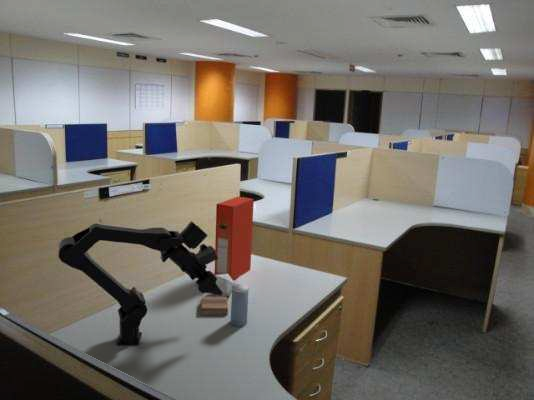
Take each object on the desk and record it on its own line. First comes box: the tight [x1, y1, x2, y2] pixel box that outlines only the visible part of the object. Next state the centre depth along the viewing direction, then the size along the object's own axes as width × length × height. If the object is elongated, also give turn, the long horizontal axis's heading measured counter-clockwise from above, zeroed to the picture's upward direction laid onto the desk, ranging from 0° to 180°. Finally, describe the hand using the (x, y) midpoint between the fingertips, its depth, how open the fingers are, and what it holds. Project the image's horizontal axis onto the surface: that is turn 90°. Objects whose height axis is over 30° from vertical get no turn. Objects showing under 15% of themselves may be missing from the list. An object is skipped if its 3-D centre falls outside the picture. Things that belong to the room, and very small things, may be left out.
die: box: [214, 274, 236, 298], centre depth 169 cm, size 8×9×10 cm
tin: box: [230, 282, 250, 328], centre depth 149 cm, size 6×6×13 cm
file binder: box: [214, 196, 255, 281], centre depth 187 cm, size 8×17×32 cm, turn 154°
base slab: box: [201, 296, 229, 316], centre depth 158 cm, size 9×9×2 cm
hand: (217, 288), depth 144 cm, fingers open, 9 cm apart
